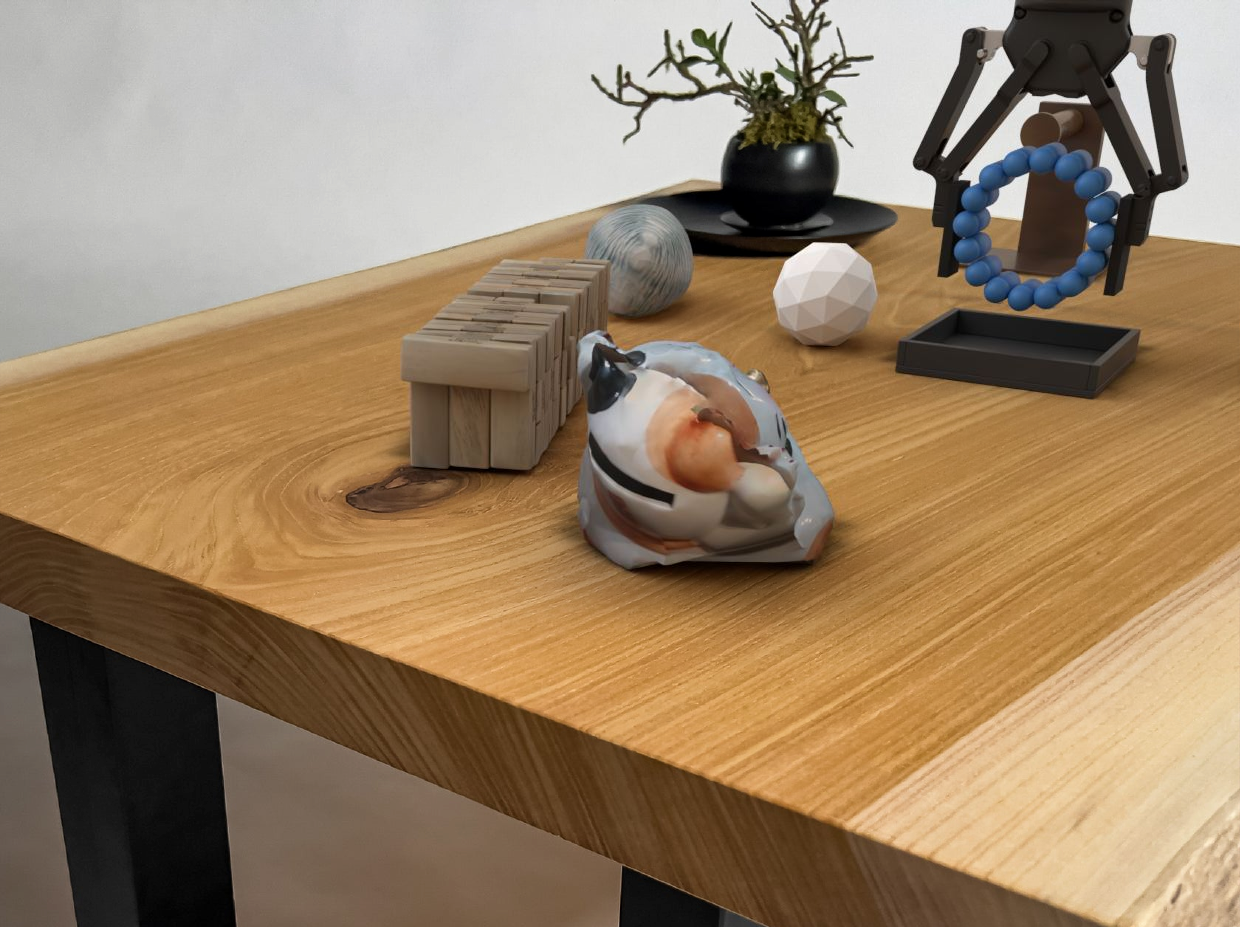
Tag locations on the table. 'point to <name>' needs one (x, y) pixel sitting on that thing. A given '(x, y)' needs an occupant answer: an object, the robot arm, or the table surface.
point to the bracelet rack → (1054, 194)
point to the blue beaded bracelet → (979, 219)
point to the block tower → (502, 363)
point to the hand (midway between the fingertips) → (1028, 283)
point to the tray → (1019, 352)
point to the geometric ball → (825, 294)
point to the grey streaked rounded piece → (642, 258)
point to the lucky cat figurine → (691, 461)
